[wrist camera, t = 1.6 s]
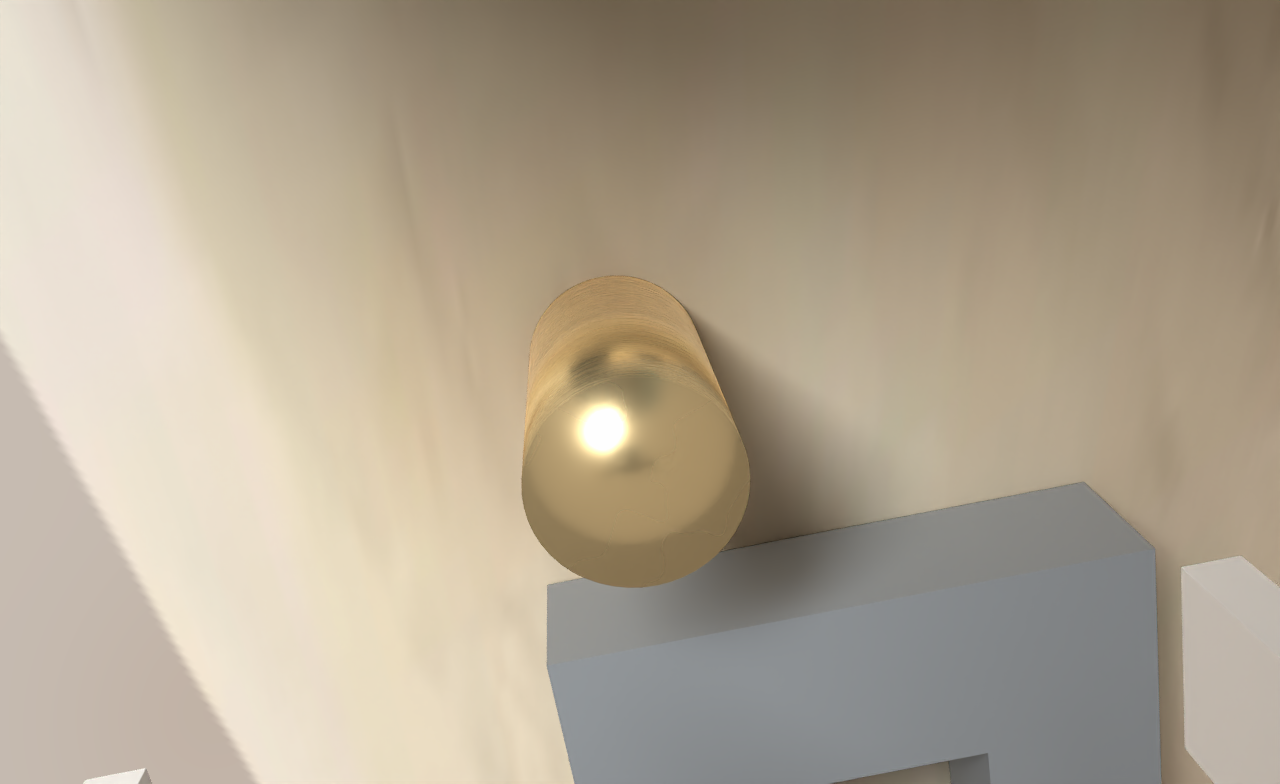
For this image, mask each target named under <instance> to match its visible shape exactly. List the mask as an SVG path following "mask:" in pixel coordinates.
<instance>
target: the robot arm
mask: <svg viewBox="0 0 1280 784" xmlns="http://www.w3.org/2000/svg"><path fill="white" fill-rule="evenodd" d="M1181 589H1182V638H1183V686H1184V734H1185V749H1186V750H1187V752H1188V753H1189V754H1190V755H1191V756H1192V758H1193V759H1194V760H1195V761H1196V762H1197V764H1198V765H1199V766H1200V767H1201V768H1202V770H1203V771H1204V772H1205V773H1206V774H1207V776H1208V777H1209V778H1210V779H1211V781H1212V782H1213V783H1214V784H1280V587H1279V586H1277V585H1276V584H1275V583H1274V582H1273V581H1271V580H1270V579H1269V578H1268V577H1267V576H1265V575H1264V574H1263V573H1262V572H1260V571H1259V570H1258V569H1257V568H1256V567H1254V566H1253V565H1252V564H1251V563H1250V562H1248V561H1247V560H1246V559H1245V558H1243V557H1242V556H1241V555H1240V556H1235V557H1230V558H1225V559H1220V560H1215V561H1210V562H1204V563H1199V564H1194V565H1189V566H1184V567H1181ZM83 784H152V782H151V780H150V777H149V775H148V772H147V769H146V768H145V769H139V770H134V771H129V772H123V773H118V774H113V775H109V776H103V777H98V778H93V779H88V780H85V781H84V783H83Z"/></svg>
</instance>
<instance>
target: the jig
mask: <svg viewBox="0 0 1280 784" xmlns="http://www.w3.org/2000/svg"><path fill="white" fill-rule="evenodd" d="M547 669H548V673H549V677H550V682H551V686H552V690H553V694H554V698H555V703H556V707H557V711H558V715H559V719H560V724H561V728H562V732H563V736H564V741H565V745H566V749H567V753H568V757H569V762H570V766H571V770H572V774H573V778H574V783H575V784H831V783H836V782H841V781H846V780H851V779H856V778H862V777H867V776H872V775H877V774H882V773H887V772H893V771H898V770H903V769H908V768H913V767H918V766H924V765H929V764H934V763H939V762H944V761H949V768H950V778H951V784H1161V751H1160V714H1159V676H1158V638H1157V600H1156V563H1155V548H1154V547H1153V546H1152V545H1151V544H1150V543H1149V542H1148V541H1146V540H1145V539H1144V538H1143V537H1142V536H1141V535H1140V534H1139V533H1138V532H1137V531H1136V530H1135V529H1134V528H1133V527H1132V526H1130V525H1129V524H1128V523H1127V522H1126V521H1125V520H1124V519H1123V518H1122V517H1121V516H1120V515H1119V514H1118V513H1117V512H1115V511H1114V510H1113V509H1112V508H1111V507H1110V506H1109V505H1108V504H1107V503H1106V502H1105V501H1104V500H1103V499H1102V498H1101V497H1099V496H1098V495H1097V494H1096V493H1095V492H1094V491H1093V490H1092V489H1091V488H1090V487H1089V486H1088V485H1087V484H1086V483H1085V482H1081V483H1076V484H1071V485H1066V486H1060V487H1055V488H1050V489H1045V490H1040V491H1034V492H1029V493H1024V494H1019V495H1014V496H1008V497H1003V498H998V499H993V500H987V501H982V502H977V503H972V504H967V505H961V506H956V507H951V508H946V509H941V510H935V511H930V512H925V513H920V514H915V515H909V516H904V517H899V518H894V519H889V520H883V521H878V522H873V523H868V524H862V525H857V526H852V527H847V528H842V529H836V530H831V531H826V532H821V533H816V534H810V535H805V536H800V537H795V538H790V539H784V540H779V541H774V542H769V543H763V544H758V545H753V546H748V547H743V548H737V549H732V550H727V551H722V552H719V553H718V554H717V555H716V556H715V557H714V558H712V559H711V560H710V561H709V562H708V563H706V564H705V565H703V566H702V567H701V568H699V569H698V570H696V571H694V572H692V573H690V574H688V575H686V576H685V577H682V578H680V579H677V580H674V581H672V582H669V583H665V584H661V585H657V586H650V587H642V588H624V587H614V586H609V585H604V584H600V583H597V582H594V581H591V580H588V579H585V578H581V579H576V580H571V581H566V582H560V583H555V584H550V585H547Z"/></svg>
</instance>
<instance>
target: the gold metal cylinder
mask: <svg viewBox="0 0 1280 784" xmlns="http://www.w3.org/2000/svg"><path fill="white" fill-rule="evenodd" d="M749 493H750V467H749V461H748V457H747V452H746V449H745V447H744V444H743V442H742V439H741V437H740V434H739V432H738V429H737V427H736V425H735V422H734V420H733V417H732V415H731V413H730V410H729V408H728V405H727V403H726V400H725V398H724V396H723V393H722V391H721V388H720V386H719V384H718V381H717V379H716V376H715V374H714V372H713V369H712V367H711V364H710V362H709V360H708V357H707V355H706V352H705V350H704V348H703V345H702V343H701V340H700V338H699V336H698V333H697V331H696V328H695V326H694V324H693V322H692V320H691V318H690V316H689V314H688V313H687V311H686V310H685V309H684V307H683V306H682V305H681V304H680V303H679V302H678V301H677V300H676V299H675V298H674V297H673V296H672V295H671V294H669V293H668V292H667V291H665V290H664V289H662V288H660V287H659V286H657V285H655V284H653V283H650V282H648V281H645V280H642V279H638V278H635V277H628V276H605V277H598V278H594V279H590V280H587V281H585V282H582V283H580V284H577V285H575V286H574V287H572V288H570V289H568V290H567V291H565V292H564V293H563V294H561V295H560V296H559V297H558V298H557V299H556V300H555V301H554V302H553V303H551V304H550V306H549V307H548V308H547V310H546V311H545V312H544V313H543V315H542V317H541V318H540V320H539V322H538V324H537V326H536V329H535V331H534V334H533V337H532V341H531V346H530V354H529V370H528V386H527V402H526V418H525V434H524V450H523V466H522V499H523V505H524V509H525V513H526V516H527V519H528V522H529V524H530V526H531V528H532V530H533V532H534V534H535V536H536V537H537V539H538V540H539V542H540V543H541V545H542V546H543V547H544V548H545V549H546V550H547V552H548V553H549V554H550V555H551V556H552V557H553V558H554V559H556V560H557V561H558V562H559V563H560V564H561V565H563V566H564V567H566V568H567V569H569V570H570V571H572V572H573V573H575V574H577V575H579V576H581V577H583V578H585V579H588V580H591V581H594V582H597V583H600V584H604V585H609V586H614V587H624V588H642V587H650V586H657V585H661V584H665V583H669V582H672V581H674V580H677V579H680V578H682V577H685V576H686V575H688V574H690V573H692V572H694V571H696V570H698V569H699V568H701V567H702V566H703V565H705V564H706V563H708V562H709V561H710V560H711V559H712V558H714V557H715V556H716V555H717V554H718V553H719V552H720V551H721V550H722V549H723V548H724V547H725V545H726V544H727V543H728V542H729V541H730V539H731V538H732V536H733V535H734V533H735V532H736V530H737V528H738V526H739V524H740V522H741V520H742V518H743V515H744V512H745V510H746V507H747V503H748V498H749Z"/></svg>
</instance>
